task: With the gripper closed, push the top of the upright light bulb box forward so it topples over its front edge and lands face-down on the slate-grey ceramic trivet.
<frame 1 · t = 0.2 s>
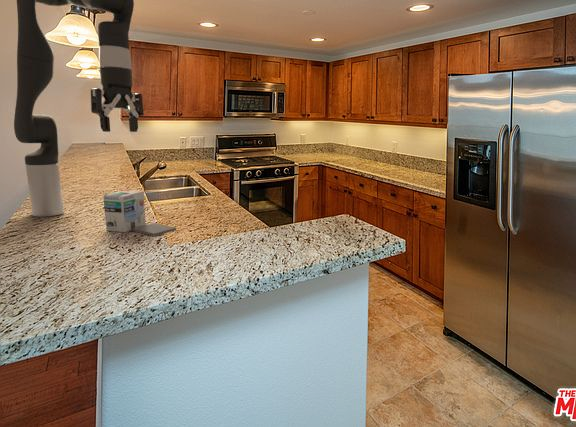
hand: (120, 131, 98), 29 cm above the countertop, fingers open, 8 cm apart
light bulb box: (126, 228, 112), on the countertop
trivet: (154, 230, 109), on the countertop
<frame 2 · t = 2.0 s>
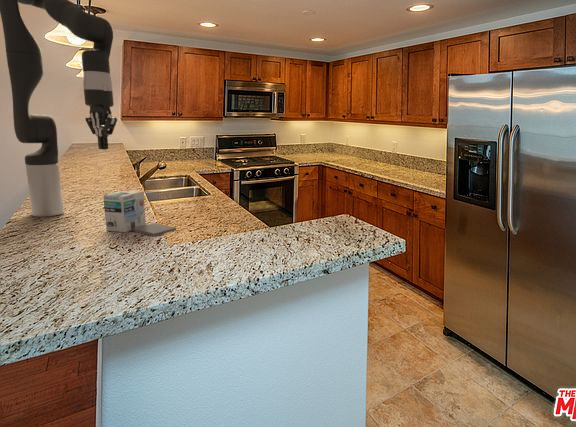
hand: (103, 149, 111), 23 cm above the countertop, fingers closed
nothing on the countertop moved.
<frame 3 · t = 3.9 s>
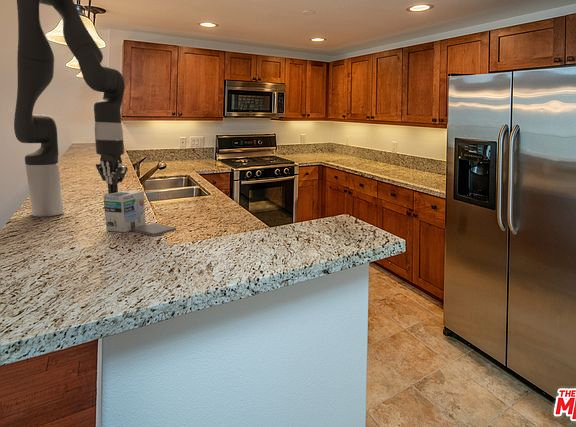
hand: (113, 195, 112), 9 cm above the countertop, fingers closed
light bulb box: (126, 228, 112), on the countertop, touching gripper
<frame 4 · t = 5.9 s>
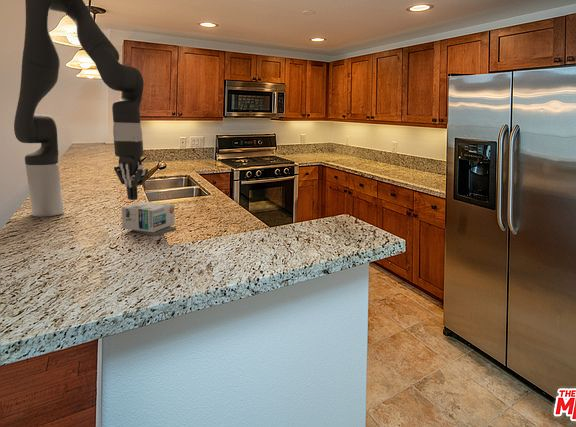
hand: (132, 199, 107), 9 cm above the countertop, fingers closed
light bulb box: (133, 214, 110), point 4 cm above the countertop, touching trivet
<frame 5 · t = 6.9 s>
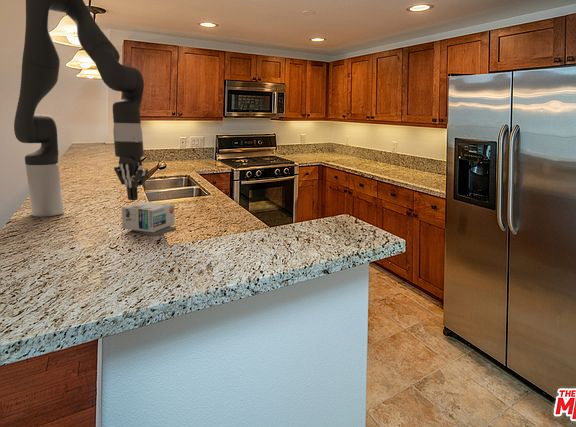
hand: (132, 199, 107), 9 cm above the countertop, fingers closed
nothing on the countertop moved.
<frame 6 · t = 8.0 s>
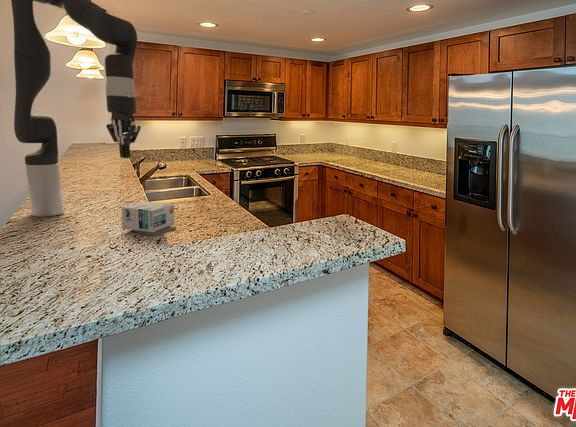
hand: (125, 157, 106), 21 cm above the countertop, fingers closed
nothing on the countertop moved.
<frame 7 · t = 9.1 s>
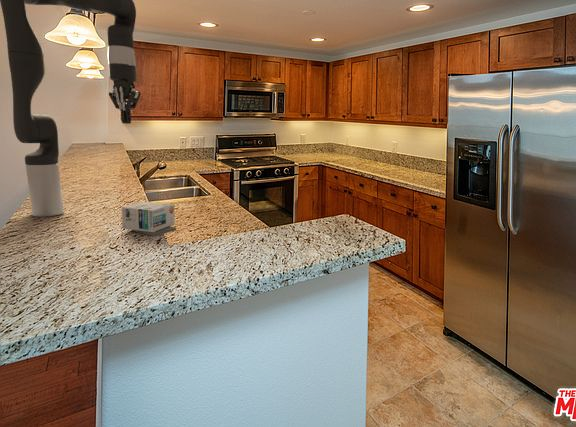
hand: (126, 123, 114), 31 cm above the countertop, fingers closed
nothing on the countertop moved.
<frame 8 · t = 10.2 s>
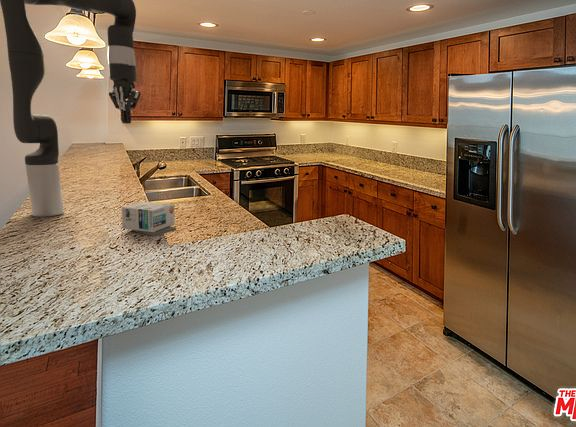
hand: (126, 123, 114), 31 cm above the countertop, fingers closed
nothing on the countertop moved.
at the end: light bulb box tilted 91°; light bulb box inside the target area (5.7 cm from its centre), point 4.2 cm above the countertop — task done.
